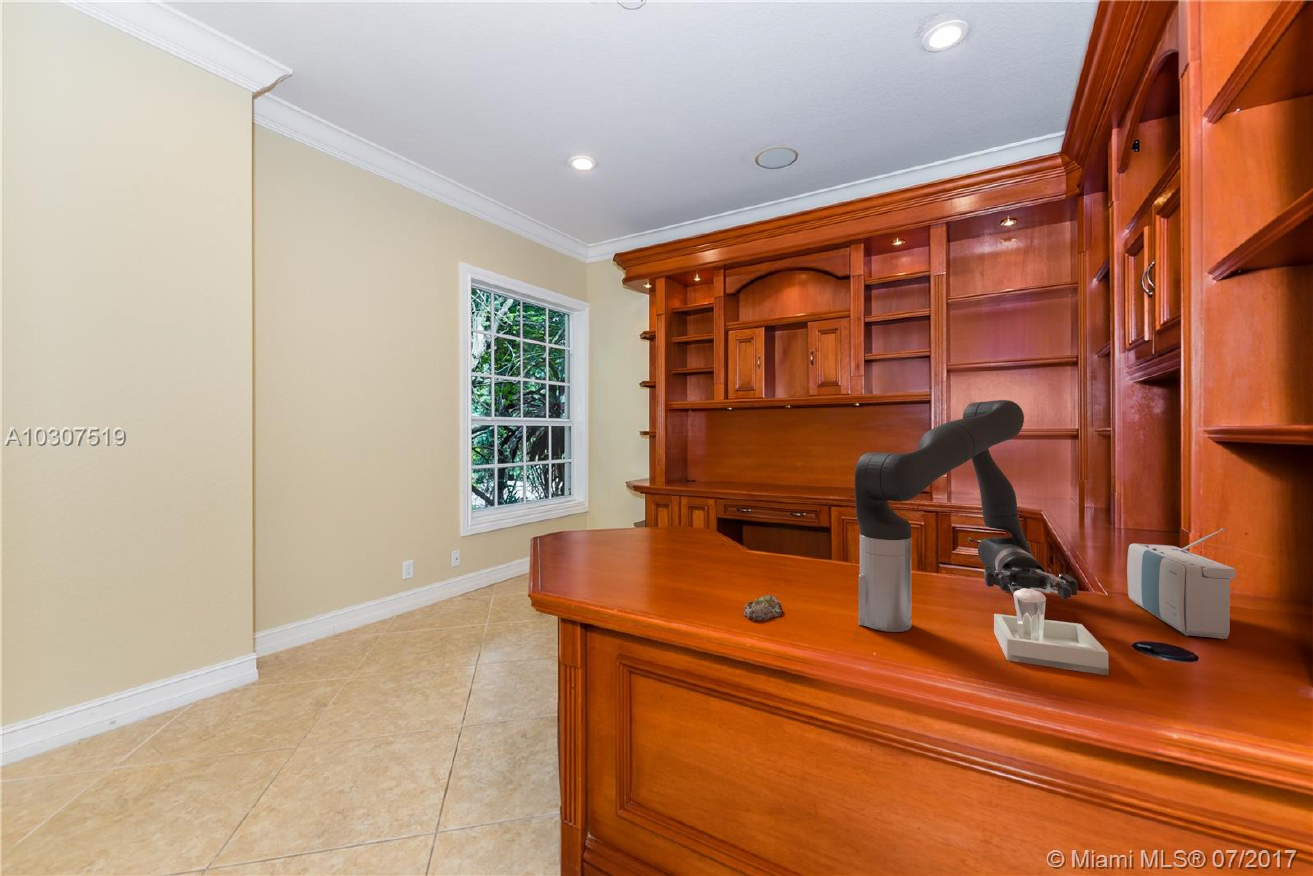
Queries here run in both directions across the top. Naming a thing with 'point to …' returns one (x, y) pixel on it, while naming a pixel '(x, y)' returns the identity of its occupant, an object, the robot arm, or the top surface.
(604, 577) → the top surface
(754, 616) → the mineral rock
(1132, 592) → the stereo radio cassette player
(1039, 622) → the milkshake
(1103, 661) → the tray
